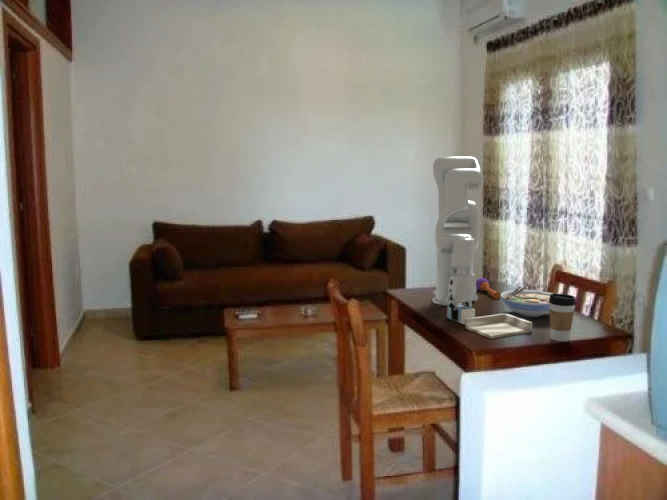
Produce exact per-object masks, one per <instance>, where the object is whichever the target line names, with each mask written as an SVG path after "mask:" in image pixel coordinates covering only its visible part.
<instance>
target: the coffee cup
mask: <svg viewBox="0 0 667 500" xmlns="http://www.w3.org/2000/svg"><path fill="white" fill-rule="evenodd" d="M549 303H550V313H549V325H550V339H551V340H553V341H557V342H569V341H570V340H571V339H570V338H571V331H572V325H573V319H574V313H575V310H574V308H575V305H576V303H577V302H576V297H575V296H574V295H571V294H563V293H553V294H550V299H549Z"/></svg>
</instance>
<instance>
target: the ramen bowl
mask: <svg viewBox="0 0 667 500" xmlns="http://www.w3.org/2000/svg"><path fill="white" fill-rule="evenodd" d="M500 294H501V297H500V298H501V300H502V302H504V305H506V308H508V309H509V310H511V311H512V312H515V313H516V314H519V315H520V316H522V317H525V318H539V317H541V316H544V315H548V314H550V303H549V299H550V294H554V293H553V292H547V291H543V290H542V291H541V290H532V289H531V290H530V289H526V286H523V287H522V285H519V286H517V288H516V289H512V290H506V291H503V292H501V293H500Z"/></svg>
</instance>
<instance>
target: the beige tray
mask: <svg viewBox="0 0 667 500" xmlns="http://www.w3.org/2000/svg"><path fill="white" fill-rule="evenodd" d="M464 329H466V330H468V331H470V332H473V333H475V334H478V335H480V336H483V337H486V338H488V339H492V340H493V339H498V338H503V337H511V336H517V335H523V334H528V333H532V332H533V322H532V321H530V320H527V319H524V318H520V317H518V316H515V315H513V314H509V313H505V312H504V313H497V314H490V315H489V314H488V315H483V316H475V317H474V318H466V319H465V324H464Z"/></svg>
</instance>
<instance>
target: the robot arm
mask: <svg viewBox="0 0 667 500" xmlns="http://www.w3.org/2000/svg"><path fill="white" fill-rule="evenodd" d="M432 165H433V166H432V170H433V179H434V181H435V183H436V187H437V190H438V191H437V192H438V219H437V221H436V224H435V247H436V285H435V286H436V287H435V288H436V289H435V290H433V291H432V294H433V295H435V296H434V297H433V298H432V300H431V302H432V304H436V305H438V306H445V307H448V306H449V307H450V308H451V318H452V319H453V320H452V319H451V320H452V321H454V320H456V321H455V322H457V320H458V310H457V307H458V303H459V304H462V305H463V303H464V305H465V306H467V307H470V308H473V305H475V303H476V302H477V300H479V296H478V295H477V288H476V280H477V279H476V274H474V254H475V253H474V251H475V250H476V249H478V246H479V242H480V225H479V224H480V222H479V221H480V218H479V216H480V215H479V213H480V212H479V208H478V205H477V203H476V202H475V201H474V200H469V192H468V191H480V190H481V189H482V188H483V185H484V177H483V171H482V168H481V166H480V164H479V161H478V159H477V158H476V157H474V156H441V157H440V156H439V157H438V158H435V159H434V162H433V164H432ZM445 224H450V225H451V224H454V225H455V224H456V225H458V224H459V225H461V224H463V225H465V226H445ZM454 304H455V305H454Z"/></svg>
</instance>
